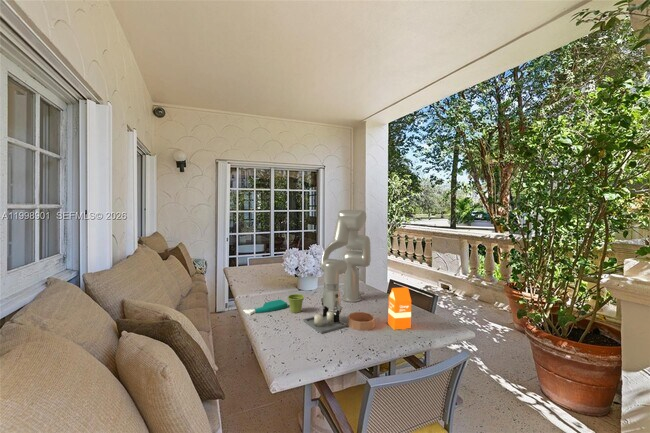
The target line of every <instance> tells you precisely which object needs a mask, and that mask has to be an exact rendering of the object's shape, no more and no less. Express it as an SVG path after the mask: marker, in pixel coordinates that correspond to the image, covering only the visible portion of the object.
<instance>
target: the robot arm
mask: <svg viewBox="0 0 650 433" xmlns="http://www.w3.org/2000/svg"><path fill="white" fill-rule="evenodd" d="M366 221H367V213H366V212H365V210H360V209H359V210H358V209H342V210H341V209H340V210H339V211H338V213H337V219H336V221H335V226H334V227H335V228H334V234H333V240H332V241H331V242H330V243H329V244H328V245H327V246H326V247H325V248H324V250H323V252H322V254H321V261H320V270H321V271H322V272H324V273H323V274H324V275H323V276H324V277H323V278H324V279H323V295H322V296H323V297H322V298H321V299H320V301H321V305H322V307H321V308H322V315H323V316H327V312H328V311H330V310H331V311H333V312H334V323H335V322H339V320H340V314H341V312H342V310H343V307H342V305H341V301H345V302H348V303H357V302H360V301H362V297H361V296H363V295H365V291H360V271H359V269H358V267H364V268H365V267H369V266H370V264H371V260H372V258H371V254H372V253H371V239H370V237H369V236H368V235H364V234H359V232H360V231H361V230H362V228H363V227H364V225H365V223H366ZM342 247H345V248H346V249H348V251H345V252H344V253H343V255H342V256H343V259H335V258H329V257H330V255H331V254H332V252H334V251H336V250H337V249H341V248H342ZM340 275H344V282H343V283H344V288H343V289H344V290H343V295H342V296H341V292H340V289H339V288H340V286H339V283H340V282H339V281H340V278H339V277H340Z"/></svg>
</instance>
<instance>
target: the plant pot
mask: <svg viewBox="0 0 650 433" xmlns="http://www.w3.org/2000/svg"><path fill="white" fill-rule="evenodd" d="M304 298H305V296H304V294H301V293H295V294H294V293H293V294H290V295H288V296H287V299H288V303H289V310H290V313H292V314H298V313H299V314H300V313H301V312H302V307H303V301H304Z"/></svg>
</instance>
